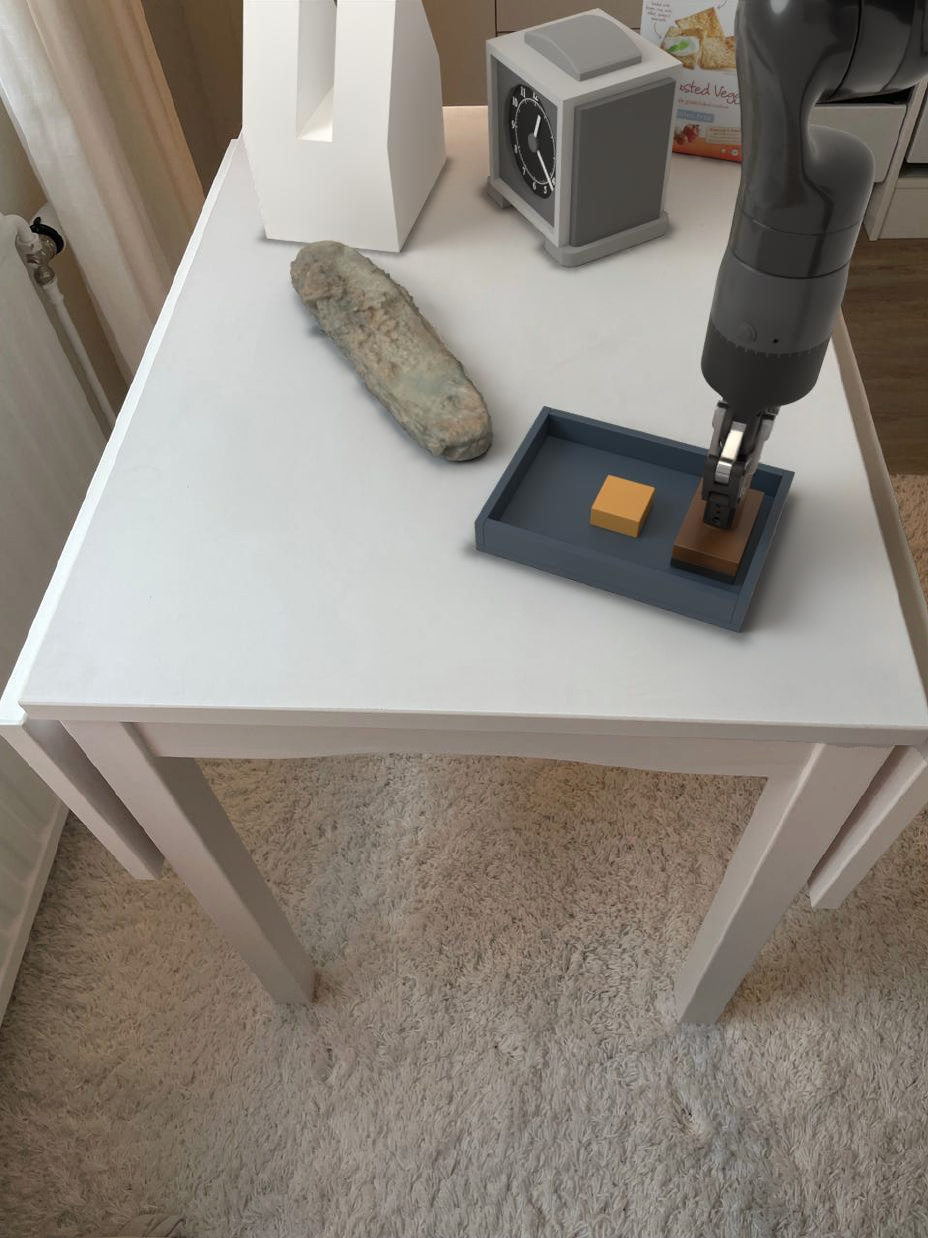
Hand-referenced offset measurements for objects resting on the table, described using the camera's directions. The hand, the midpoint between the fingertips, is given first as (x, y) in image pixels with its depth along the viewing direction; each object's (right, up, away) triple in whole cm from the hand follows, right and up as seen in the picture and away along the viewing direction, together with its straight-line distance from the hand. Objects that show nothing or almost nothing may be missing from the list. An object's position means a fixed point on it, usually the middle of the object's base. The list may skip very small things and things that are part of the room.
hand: (723, 507), depth 73 cm
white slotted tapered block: (-32, +40, +37) cm, 63 cm away
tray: (-6, -1, +5) cm, 8 cm away
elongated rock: (-27, +17, +20) cm, 38 cm away
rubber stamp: (0, -2, +3) cm, 4 cm away
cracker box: (+7, +48, +41) cm, 63 cm away
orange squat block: (-7, 0, +5) cm, 9 cm away
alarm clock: (-8, +37, +33) cm, 50 cm away
